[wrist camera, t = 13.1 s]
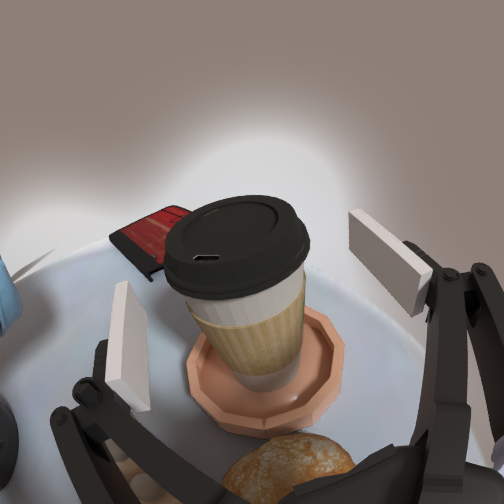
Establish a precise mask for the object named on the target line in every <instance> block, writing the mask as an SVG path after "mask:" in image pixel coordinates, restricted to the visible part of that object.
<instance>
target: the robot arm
mask: <svg viewBox="0 0 504 504" xmlns="http://www.w3.org/2000/svg"><path fill="white" fill-rule="evenodd" d="M349 249H350V251H351V252H352V253H353V254H354V255H355V256H356V257H357V258H358V259H359V260H360V261H361V262H362V263H363V264H364V266H365V267H366V268H367V269H368V270H369V271H370V272H371V273H372V274H373V275H374V276H375V277H376V278H377V279H378V280H379V282H380V283H381V284H382V285H383V286H384V287H385V288H386V289H387V290H388V292H389V293H390V294H391V295H392V296H393V297H394V298H395V299H396V300H397V302H398V303H399V304H400V305H401V306H402V307H403V308H404V309H405V311H406V312H407V313H408V314H409V315H410V316H411V317H414V316H416V315H418V314H419V313H421V312H423V309H424V305H425V303H426V304H427V306H428V307H429V311H428V314H427V318H426V321H425V322H426V323H427V321H428V327H427V343H426V355H425V366H424V375H423V383H422V390H421V397H420V404H419V410H418V415H417V421H416V426H415V430H414V433H413V435H412V438H411V441H410V444H409V446H397V447H394V445H393V444H390V445H388V446H386V447H384V448H382V449H381V450H379V451H377V452H375V453H373V454H371V455H369V456H368V457H367V458H365V459H364V460H363V461H362V462H360V463H359V464H358V465H356V466H355V467H354V468H353V469H351V470H350V471H348V472H346V473H342V474H336V475H330V476H324V477H318V478H315V479H313V480H310V481H307V482H304V483H301V484H299V485H296V486H293V491H291V492H290V493H288V494H287V495H286V496H284V497H283V498H282V499H281V500H280V501H279V502H278V503H277V504H504V292H503V290H502V288H501V286H500V284H499V282H498V280H497V278H496V276H495V274H494V272H493V271H492V269H491V268H490V267H489V266H488V265H486V264H484V263H475V264H473V265H472V268H471V271H470V272H466V273H459V272H458V271H456V270H455V269H452V268H442V267H441V266H440V265H439V264H438V263H436V262H435V261H434V260H433V259H432V258H431V257H429V256H428V255H426V253H425V252H424V251H421V249H420V248H419V247H418V246H416V245H415V244H413V243H411V242H409V241H404V242H401V241H400V240H398V239H397V238H396V237H395V236H393V235H392V234H391V233H390V232H389V231H387V230H386V229H385V228H384V227H382V226H381V225H380V224H379V223H377V222H376V221H375V220H374V219H372V218H371V217H370V216H368V215H367V214H366V213H365V212H363V211H362V210H361V209H355V210H352V211H349ZM22 309H23V306H22V301H21V298H20V296H19V294H18V291H17V289H16V287H15V285H14V283H13V281H12V279H11V277H10V275H9V273H8V271H7V269H6V267H5V265H4V262H3V261H2V259H1V256H0V337H1V336H4V335H5V333H6V330H7V329H8V328H9V327H10V326H11V325H12V324H13V323H15V322H16V321H17V320H18V319H19V317H20V316H21V313H22ZM467 330H468V333H469V337H470V340H471V343H472V346H473V350H474V354H475V357H476V361H477V365H478V369H479V373H480V376H481V381H482V385H483V390H484V395H485V399H486V404H487V410H488V415H489V421H490V426H491V431H492V435H493V438H494V441H495V445H494V449H493V453H492V455H491V460H492V462H493V463H494V467H493V469H491V468H487V467H483V466H479V465H476V464H472V463H469V462H465V461H466V454H467V447H468V440H469V431H470V420H471V407H470V406H469V405H467V379H468V350H467ZM72 396H73V398H74V400H75V401H76V402H77V403H78V404H80V406H78V407H76V408H74V409H72V410H69V409H68V408H67V407H65V406H60V407H58V408H56V409H55V410H54V411H53V413H52V414H51V417H50V425H51V429H52V432H53V435H54V438H55V441H56V443H57V446H58V449H59V452H60V454H61V457H62V460H63V462H64V465H65V467H66V470H67V472H68V474H69V477H70V479H71V481H72V483H73V486H74V488H75V490H76V492H77V494H78V496H79V499H80V501H81V503H82V504H141V502H140V501H139V499H138V498H137V496H136V495H135V493H134V492H133V490H132V489H131V487H130V486H129V484H128V482H127V481H126V479H125V477H124V476H123V474H122V472H121V471H120V469H119V467H118V466H117V464H116V462H115V460H114V458H113V457H112V455H111V453H110V451H109V449H108V447H107V445H106V444H105V442H104V441H106V440H108V439H110V438H111V439H112V440H113V441H114V442H115V444H116V445H117V446H118V447H119V448H120V449H121V450H122V451H123V452H124V453H125V454H126V455H127V456H128V457H129V458H130V459H131V460H132V461H134V462H135V463H136V464H137V465H138V466H139V467H140V468H141V469H142V470H143V471H144V472H145V473H146V474H148V475H149V476H150V477H151V478H152V479H153V480H154V481H155V482H157V483H158V484H159V485H160V486H161V487H163V488H164V489H165V490H166V491H167V492H169V493H170V494H171V495H172V496H174V497H175V498H176V499H177V500H179V501H180V502H181V503H183V504H252V503H250V502H248V501H246V500H245V499H243V498H241V497H240V496H238V495H236V494H235V493H233V492H231V491H230V490H228V489H226V488H225V487H223V486H222V485H220V484H219V483H217V482H216V481H214V480H212V479H211V478H209V477H208V476H207V475H205V474H204V473H202V472H201V471H199V470H198V469H196V468H195V467H194V466H192V465H191V464H189V463H188V462H187V461H185V460H184V459H183V458H181V457H180V456H179V455H177V454H176V453H175V452H174V451H172V450H171V449H170V448H168V447H167V446H166V445H165V444H163V443H162V442H161V441H160V440H159V439H157V438H156V437H155V436H154V435H153V434H151V433H150V432H149V431H148V430H147V429H146V428H144V427H143V426H142V425H141V424H140V423H139V422H138V421H136V420H135V419H134V418H133V417H132V416H131V414H130V408H131V409H132V410H133V411H134V412H135V413H139V412H144V411H149V410H151V409H150V395H149V378H148V352H147V314H146V312H145V310H144V309H143V307H142V305H141V303H140V301H139V300H138V298H137V296H136V294H135V292H134V290H133V288H132V287H131V285H130V283H129V281H128V280H126V281H123V282H120V283H117V284H116V287H115V293H114V300H113V307H112V314H111V322H110V330H109V339H106V340H102V341H100V342H99V344H98V346H97V348H96V350H95V360H94V367H93V376H92V378H91V377H85V378H82V379H81V380H79V381H78V382H77V383H76V384H75V386H74V388H73V391H72ZM17 451H18V432H17V427H16V423H15V420H14V418H13V416H12V414H11V413H10V411H9V410H8V409H7V408H6V407H4V406H3V405H2V404H1V403H0V490H1V489H2V488H3V487H4V486H5V485H6V483H7V482H8V480H9V478H10V476H11V474H12V471H13V469H14V466H15V462H16V457H17Z"/></svg>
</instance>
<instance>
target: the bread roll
mask: <svg viewBox="0 0 504 504" xmlns="http://www.w3.org/2000/svg"><path fill="white" fill-rule="evenodd" d="M355 466H356V464H354V463H353V461H352V459H351V456H350V455H349V453H348V452H346V451H345V450H344V449H343V448H342V447H341V446H340V445H339V444H338V443H336V442H334V441H333V440H331V439H329V438H327V437H325V436H321V435H317V434H310V433H298V434H293V435H285V436H280V437H275V438H274V437H273V438H272V439H271V440H269V441H268V442H266V443H265V444H263V445H262V446H261V448H257V449H255V450H253V451H252V452H250V453H249V454H247V455H245V456H244V457H242V458H241V459H239V460H238V461H237V462H236V463H234V464H233V465H232V466H231V467H230V468H229V469H228V471H227V473H226V474H225V476H224V479H223V482H222V486H223V487H225V488H226V489H228V490H230V491H231V492H233V493H235V494H236V495H238V496H240V497H241V498H243V499H245V500H246V501H248V502H250V503H252V504H277V503H278V502H279V501H280V500H281V499H282V498H283V497H284V496H286V495H287V494H288V493H290V492H291V491H293V486H296V485H299V484H301V483H304V482H307V481H310V480H313V479H315V478H318V477H324V476H330V475H336V474H342V473H346V472H348V471H350V470H351V469H353V468H354V467H355Z"/></svg>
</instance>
